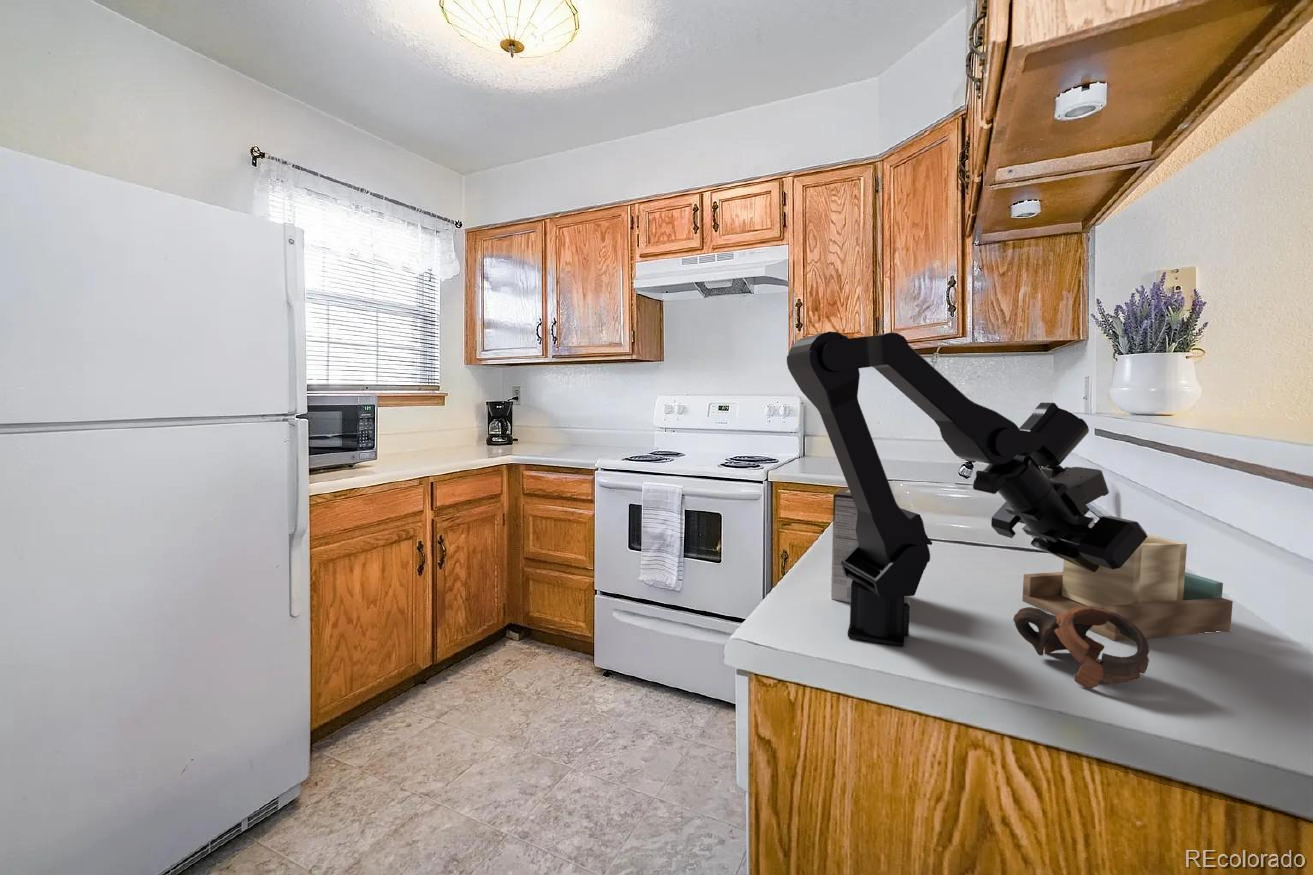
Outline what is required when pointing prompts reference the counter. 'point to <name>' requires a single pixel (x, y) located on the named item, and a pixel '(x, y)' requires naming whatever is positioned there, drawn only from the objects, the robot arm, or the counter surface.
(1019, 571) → the counter surface
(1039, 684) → the counter surface
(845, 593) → the coffee box
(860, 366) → the robot arm
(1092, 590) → the crate
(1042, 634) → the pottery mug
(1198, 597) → the bay
